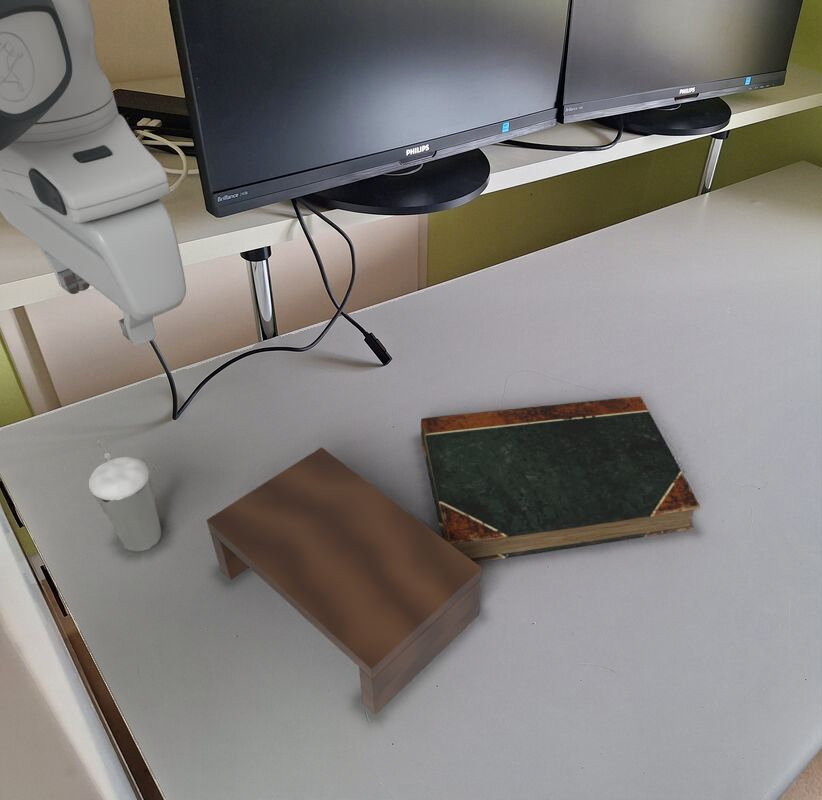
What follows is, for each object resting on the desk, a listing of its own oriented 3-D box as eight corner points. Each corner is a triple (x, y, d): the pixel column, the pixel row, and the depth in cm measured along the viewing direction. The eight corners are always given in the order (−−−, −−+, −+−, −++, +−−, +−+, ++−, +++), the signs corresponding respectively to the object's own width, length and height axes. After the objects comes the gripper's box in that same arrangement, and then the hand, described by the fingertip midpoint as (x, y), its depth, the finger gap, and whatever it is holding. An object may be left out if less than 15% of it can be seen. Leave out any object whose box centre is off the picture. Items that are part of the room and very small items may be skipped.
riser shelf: (375, 715, 59) (371, 668, 55) (220, 570, 68) (205, 519, 63) (478, 616, 67) (482, 567, 62) (327, 496, 75) (321, 446, 71)
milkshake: (155, 505, 72) (129, 429, 66) (176, 543, 69) (151, 467, 63) (104, 527, 70) (71, 450, 63) (124, 566, 67) (92, 490, 60)
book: (446, 568, 70) (693, 531, 76) (447, 543, 68) (702, 507, 74) (420, 438, 83) (634, 415, 89) (419, 413, 80) (639, 391, 86)
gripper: (-71, 104, 53) (1, 274, 62) (83, 211, 44) (140, 390, 53) (24, 85, 57) (78, 248, 66) (182, 180, 48) (219, 352, 57)
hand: (107, 312), depth 60 cm, fingers open, 8 cm apart
